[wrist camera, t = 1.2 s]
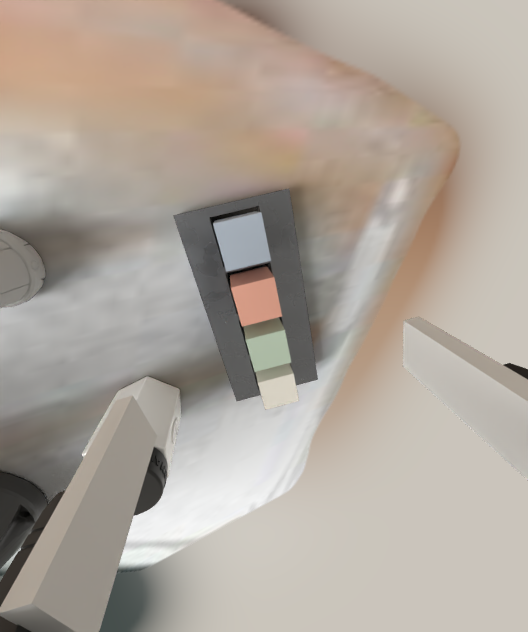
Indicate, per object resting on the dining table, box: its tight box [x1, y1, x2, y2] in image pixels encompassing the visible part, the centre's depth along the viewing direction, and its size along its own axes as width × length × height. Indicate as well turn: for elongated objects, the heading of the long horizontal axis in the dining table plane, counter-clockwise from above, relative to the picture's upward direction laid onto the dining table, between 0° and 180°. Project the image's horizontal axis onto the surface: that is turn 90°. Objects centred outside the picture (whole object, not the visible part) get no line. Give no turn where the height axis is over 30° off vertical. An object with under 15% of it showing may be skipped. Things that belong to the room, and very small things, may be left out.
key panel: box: [174, 189, 318, 401], centre depth 29 cm, size 11×23×3 cm, turn 12°
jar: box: [82, 376, 181, 516], centre depth 29 cm, size 9×8×12 cm
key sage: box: [243, 317, 291, 372], centre depth 28 cm, size 4×4×4 cm
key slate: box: [213, 211, 271, 272], centre depth 23 cm, size 4×4×4 cm
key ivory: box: [256, 363, 299, 410], centre depth 30 cm, size 4×4×4 cm
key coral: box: [230, 266, 282, 327], centre depth 25 cm, size 4×4×4 cm
